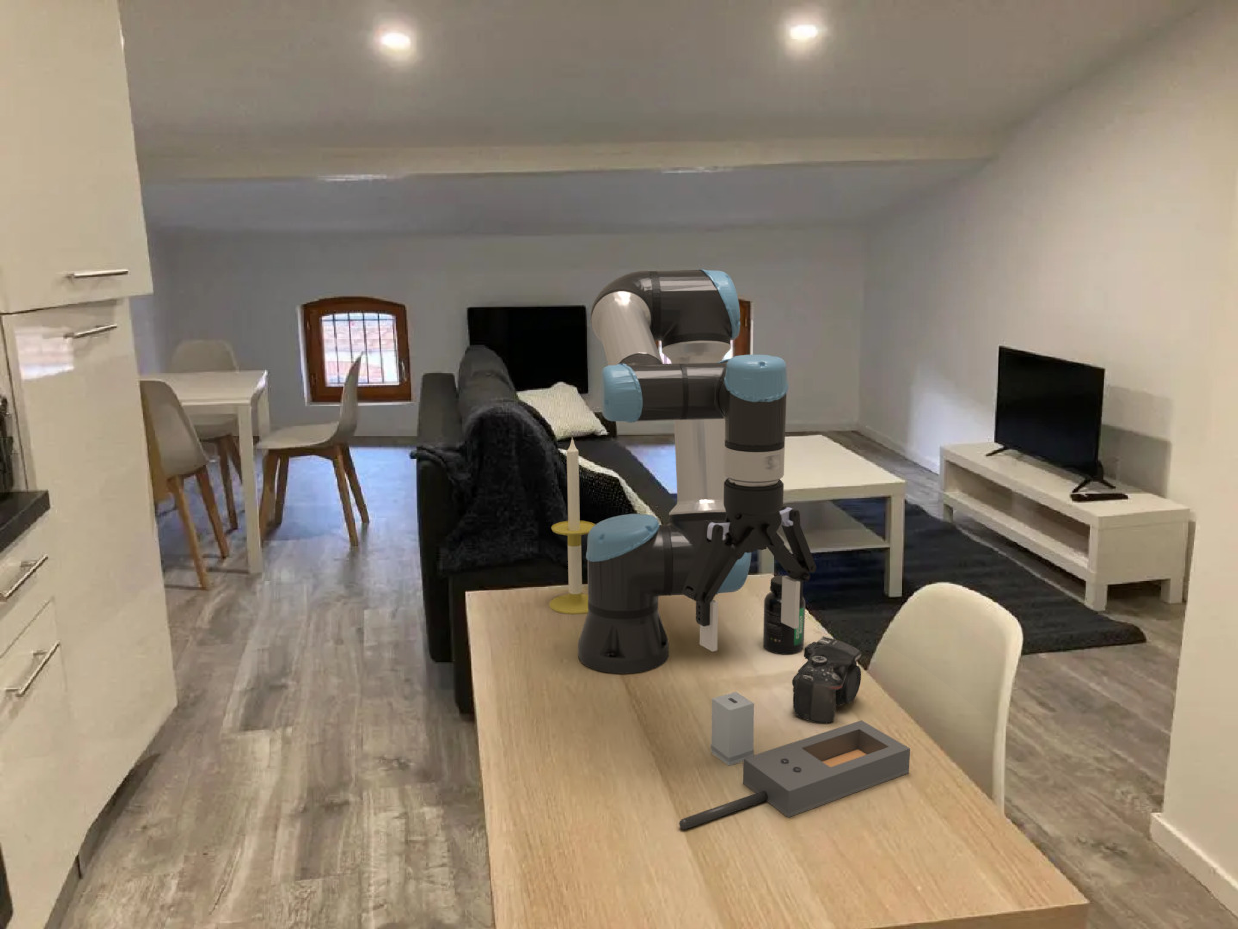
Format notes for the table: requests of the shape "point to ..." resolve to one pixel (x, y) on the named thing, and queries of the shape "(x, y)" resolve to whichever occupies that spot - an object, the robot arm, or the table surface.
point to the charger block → (732, 728)
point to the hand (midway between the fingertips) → (750, 636)
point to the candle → (573, 542)
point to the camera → (826, 679)
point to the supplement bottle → (776, 632)
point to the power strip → (816, 771)
